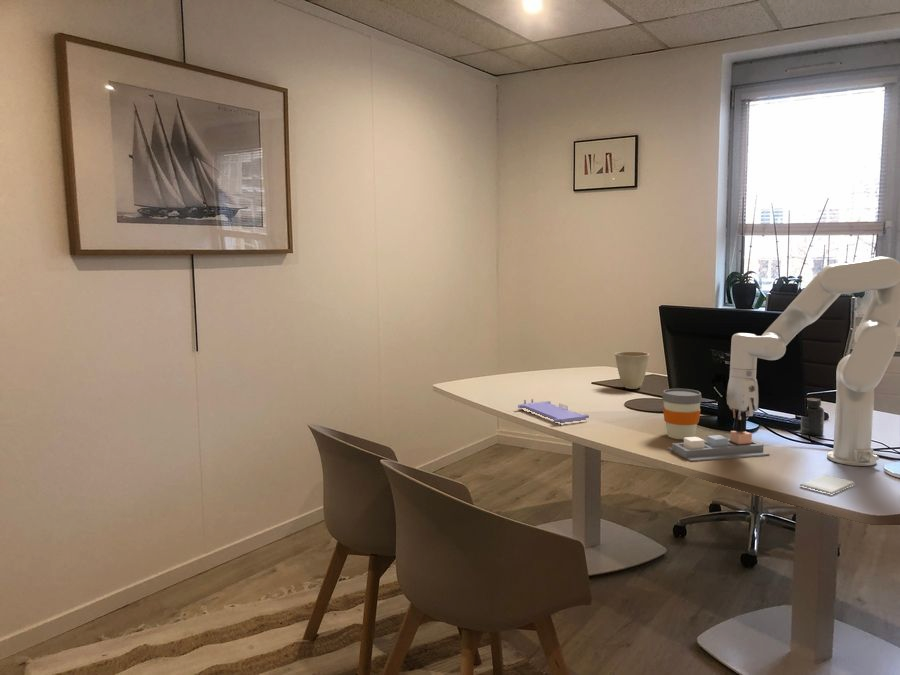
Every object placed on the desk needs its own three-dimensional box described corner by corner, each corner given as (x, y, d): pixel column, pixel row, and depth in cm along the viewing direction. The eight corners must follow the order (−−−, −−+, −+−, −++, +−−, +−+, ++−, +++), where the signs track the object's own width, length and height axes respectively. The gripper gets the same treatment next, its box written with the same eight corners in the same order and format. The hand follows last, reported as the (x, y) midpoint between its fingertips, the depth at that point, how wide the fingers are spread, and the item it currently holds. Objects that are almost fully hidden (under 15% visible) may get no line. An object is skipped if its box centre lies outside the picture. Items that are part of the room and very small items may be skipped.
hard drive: (823, 473, 189) (799, 483, 182) (854, 481, 183) (832, 491, 176) (822, 479, 190) (799, 489, 182) (854, 487, 183) (831, 497, 176)
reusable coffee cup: (698, 431, 239) (699, 389, 237) (702, 441, 227) (704, 396, 225) (660, 430, 241) (661, 388, 240) (662, 439, 229) (663, 395, 228)
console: (769, 455, 210) (769, 447, 210) (690, 461, 205) (691, 453, 205) (741, 443, 224) (741, 435, 224) (667, 448, 219) (667, 441, 219)
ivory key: (704, 449, 211) (704, 440, 211) (691, 450, 210) (691, 441, 210) (696, 445, 216) (696, 436, 215) (683, 446, 215) (683, 437, 214)
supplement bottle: (813, 430, 237) (815, 396, 236) (827, 436, 231) (829, 400, 229) (795, 432, 236) (797, 397, 235) (809, 437, 229) (811, 401, 228)
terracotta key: (751, 443, 214) (751, 433, 214) (738, 444, 213) (738, 434, 213) (742, 439, 218) (743, 430, 218) (730, 440, 218) (730, 431, 217)
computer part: (546, 406, 282) (514, 410, 276) (546, 396, 282) (514, 400, 276) (590, 422, 255) (556, 427, 249) (590, 411, 255) (556, 415, 249)
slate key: (727, 448, 213) (728, 438, 212) (714, 449, 212) (715, 439, 212) (719, 444, 217) (720, 434, 217) (707, 445, 216) (707, 435, 216)
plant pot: (647, 385, 320) (648, 351, 318) (649, 392, 306) (650, 356, 304) (614, 384, 324) (615, 350, 322) (614, 391, 309) (615, 355, 307)
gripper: (769, 377, 207) (765, 437, 209) (739, 368, 221) (736, 424, 224) (746, 378, 205) (743, 438, 208) (718, 369, 220) (715, 425, 222)
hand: (739, 431), depth 216 cm, fingers closed
